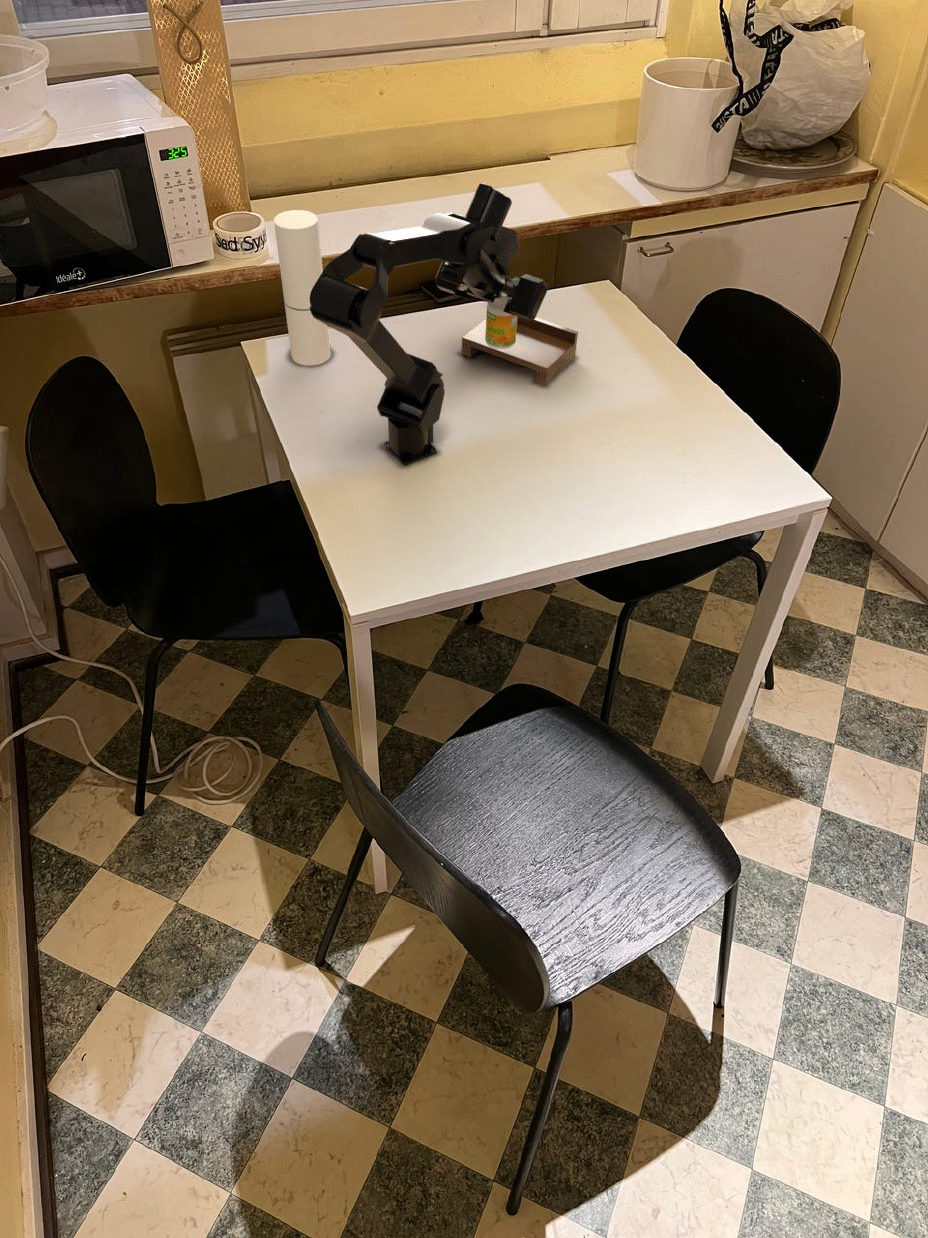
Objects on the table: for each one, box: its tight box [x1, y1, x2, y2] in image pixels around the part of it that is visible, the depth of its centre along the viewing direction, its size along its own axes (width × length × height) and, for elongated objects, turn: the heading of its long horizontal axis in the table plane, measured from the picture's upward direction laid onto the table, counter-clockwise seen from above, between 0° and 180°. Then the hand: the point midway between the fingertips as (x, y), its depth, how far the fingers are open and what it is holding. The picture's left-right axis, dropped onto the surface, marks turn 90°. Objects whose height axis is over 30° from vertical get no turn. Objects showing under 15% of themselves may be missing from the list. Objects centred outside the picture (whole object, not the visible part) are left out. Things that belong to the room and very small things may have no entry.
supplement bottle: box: [485, 293, 518, 349], centre depth 157 cm, size 5×5×10 cm
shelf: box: [461, 317, 579, 386], centre depth 167 cm, size 11×18×6 cm, turn 57°
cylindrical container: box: [273, 209, 332, 367], centre depth 159 cm, size 7×7×25 cm
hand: (506, 303), depth 156 cm, fingers closed on supplement bottle, 5 cm apart
